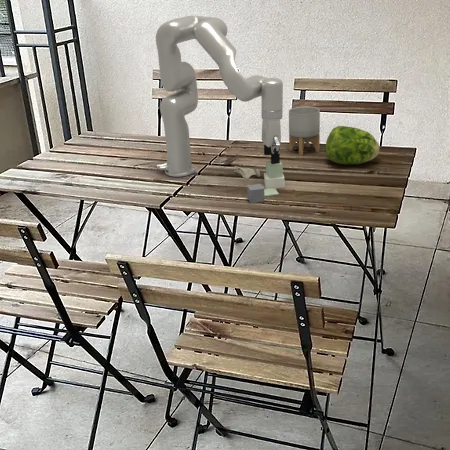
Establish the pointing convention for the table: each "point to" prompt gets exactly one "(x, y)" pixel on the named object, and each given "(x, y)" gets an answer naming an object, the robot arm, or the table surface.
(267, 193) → the swatch
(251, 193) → the gray cube
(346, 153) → the green rounded lump
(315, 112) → the planter
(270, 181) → the base block
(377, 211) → the table surface
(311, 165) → the table surface
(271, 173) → the sage cube
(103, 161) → the table surface
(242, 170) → the fossil
